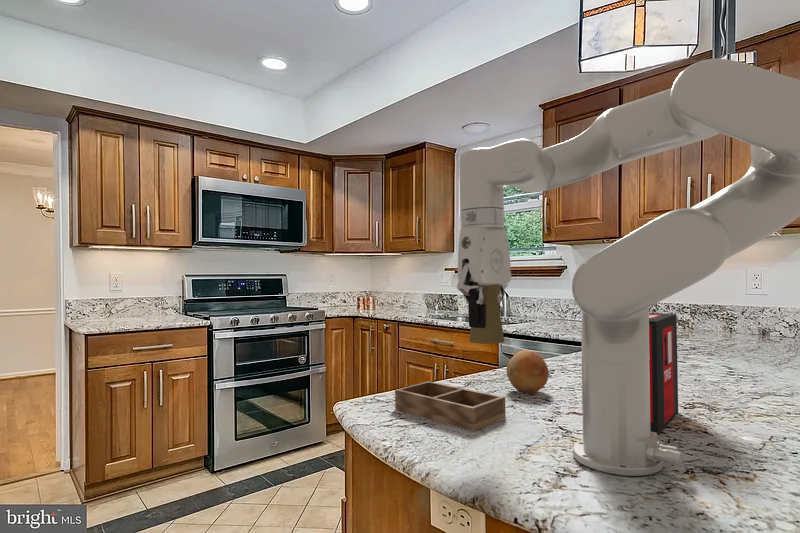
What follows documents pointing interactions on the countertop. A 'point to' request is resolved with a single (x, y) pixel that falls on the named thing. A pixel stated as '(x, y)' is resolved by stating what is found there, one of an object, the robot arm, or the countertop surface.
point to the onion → (527, 371)
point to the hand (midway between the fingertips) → (484, 325)
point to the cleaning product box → (663, 370)
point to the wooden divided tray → (451, 405)
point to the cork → (489, 318)
